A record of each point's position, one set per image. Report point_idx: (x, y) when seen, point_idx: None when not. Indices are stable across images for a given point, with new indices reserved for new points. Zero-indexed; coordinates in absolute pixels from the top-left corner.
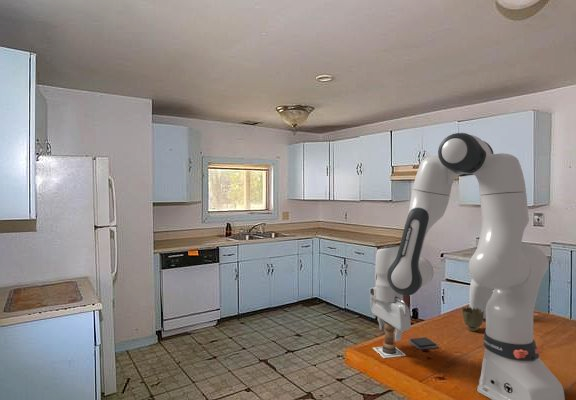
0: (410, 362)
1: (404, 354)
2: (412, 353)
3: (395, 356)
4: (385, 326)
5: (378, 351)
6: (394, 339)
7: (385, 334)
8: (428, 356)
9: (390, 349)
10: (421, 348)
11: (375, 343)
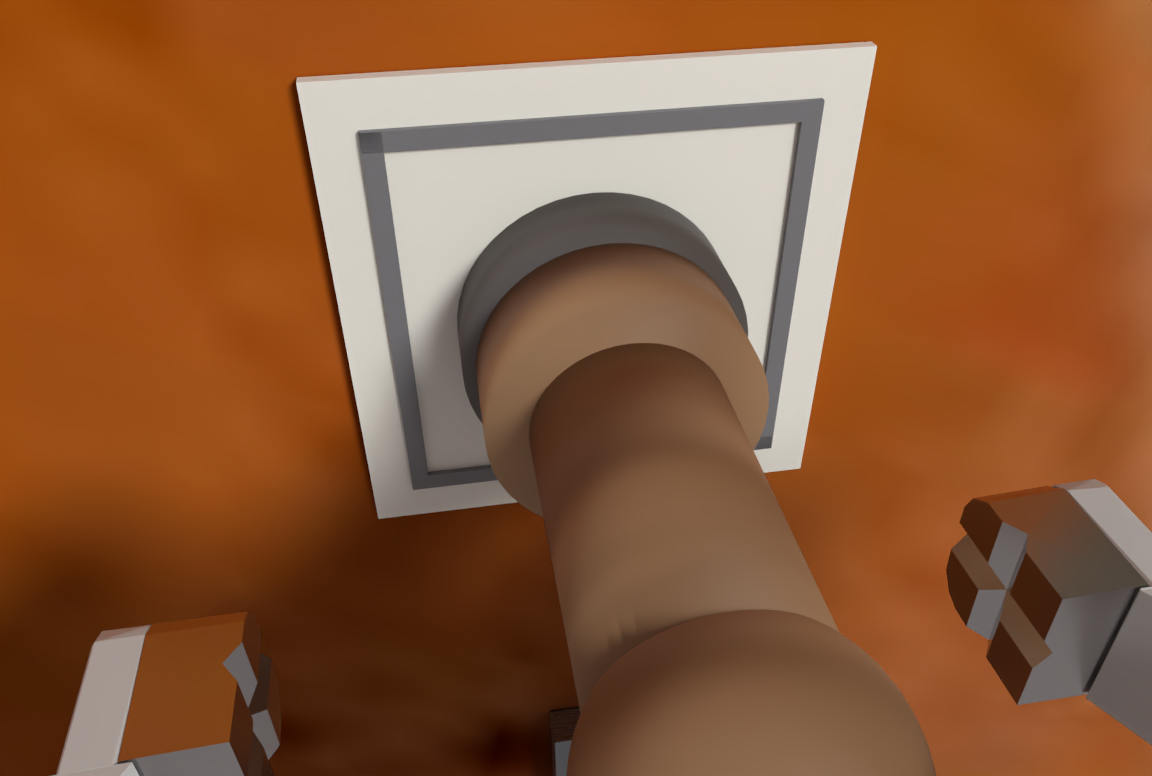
0: (90, 490)
1: (407, 504)
2: (451, 608)
3: (348, 344)
4: (737, 741)
5: (646, 100)
6: (217, 615)
7: (685, 506)
8: (319, 738)
9: (482, 351)
10: (553, 740)
11: (1043, 204)
